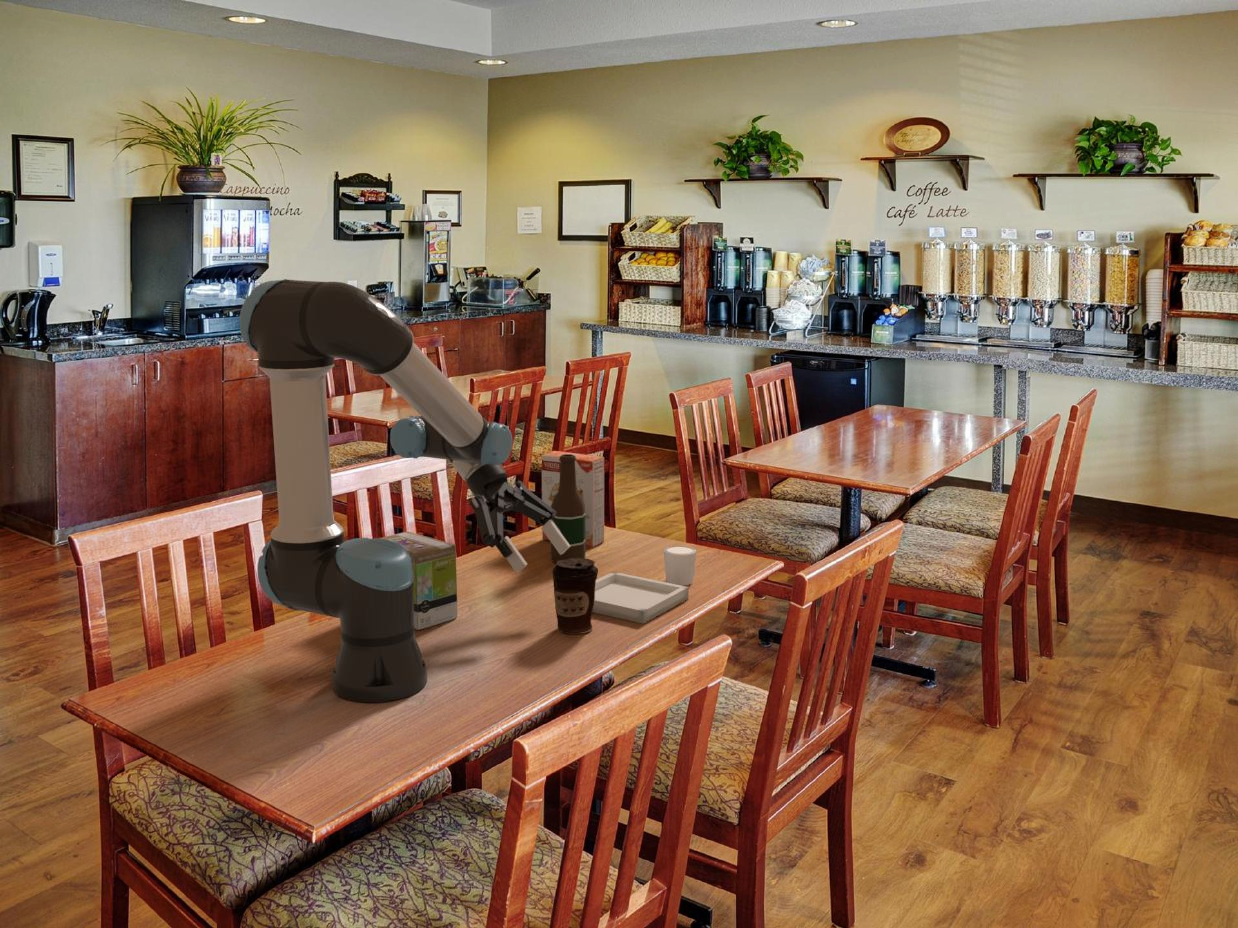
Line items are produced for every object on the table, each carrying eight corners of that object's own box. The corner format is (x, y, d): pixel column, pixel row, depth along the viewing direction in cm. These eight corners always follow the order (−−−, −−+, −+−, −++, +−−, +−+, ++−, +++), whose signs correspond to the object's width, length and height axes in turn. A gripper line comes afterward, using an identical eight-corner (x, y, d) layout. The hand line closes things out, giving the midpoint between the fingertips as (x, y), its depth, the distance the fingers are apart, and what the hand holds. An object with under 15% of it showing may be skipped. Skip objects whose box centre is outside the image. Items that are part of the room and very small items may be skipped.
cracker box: (541, 540, 265) (540, 454, 260) (554, 534, 270) (554, 449, 265) (592, 549, 258) (592, 460, 254) (605, 542, 263) (605, 455, 259)
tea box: (459, 618, 213) (457, 543, 210) (417, 632, 206) (414, 554, 203) (411, 600, 223) (408, 528, 220) (369, 613, 216) (365, 539, 213)
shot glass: (679, 574, 240) (679, 543, 238) (702, 582, 235) (703, 550, 233) (656, 581, 235) (656, 549, 234) (679, 589, 230) (680, 556, 229)
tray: (643, 623, 210) (643, 611, 210) (565, 605, 220) (565, 593, 219) (688, 598, 224) (688, 587, 224) (613, 583, 234) (613, 571, 233)
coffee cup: (591, 639, 202) (591, 570, 200) (547, 636, 204) (546, 567, 201) (602, 622, 211) (602, 556, 208) (559, 619, 212) (558, 554, 210)
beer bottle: (572, 568, 244) (571, 460, 239) (543, 562, 248) (542, 456, 243) (592, 559, 250) (592, 454, 245) (564, 553, 254) (563, 450, 249)
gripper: (510, 470, 227) (571, 553, 222) (426, 495, 206) (491, 588, 202) (531, 448, 223) (593, 532, 218) (447, 471, 202) (514, 565, 198)
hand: (544, 559), depth 210 cm, fingers open, 13 cm apart
